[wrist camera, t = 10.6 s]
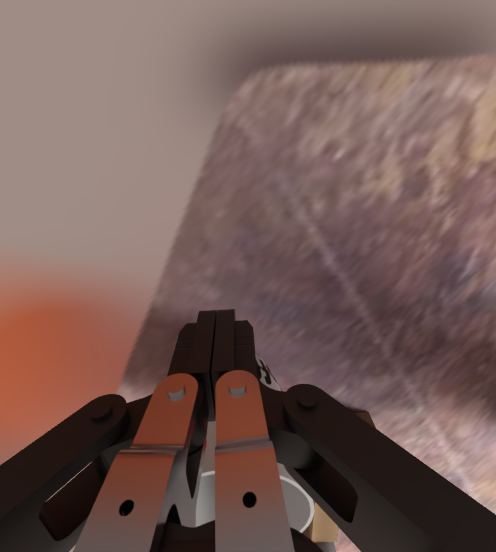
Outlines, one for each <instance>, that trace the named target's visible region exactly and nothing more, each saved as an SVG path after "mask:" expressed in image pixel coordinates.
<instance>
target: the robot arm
mask: <svg viewBox="0 0 496 552" xmlns="http://www.w3.org/2000/svg"><path fill="white" fill-rule="evenodd" d="M210 421H216V447H215V520H213V521H210V522H208V523H205V524H203V525H200V526H197V527H196V505H197V498H198V492H199V486H200V480H201V475H202V469H203V463H204V457H205V451H206V445H207V439H206V436H207V428H208V422H210ZM90 462H92V463H91V464H90V465H88V464H89V463H90ZM277 463H280V464H283V465H284V468H285V469H286V471H287V472H288V473H289V475H290V476H291V477H292V478H293V479H294V480H295V481H296V482H297V483H298V484H299V485H300V486H301V487H302V488H303V490H304V491H305V492H306V493H307V494H308V495H309V496H310V497H311V498H312V499H313V500H314V501H315V502H316V503H317V504H318V506H319V507H320V508H321V509H322V510H323V511H324V512H325V513H326V514H327V515H328V516H329V517H330V518H331V519H332V521H333V522H334V523H335V524H336V525H337V526H338V527H339V528H340V529H341V530H342V531H343V532H344V533H345V534H346V536H347V537H348V538H349V539H350V540H351V541H352V542H353V543H354V544H355V545H356V546H357V547H358V548H359V549H360V551H361V552H496V515H495V514H494V513H492V512H491V511H490V510H488V509H487V508H485V507H484V506H483V505H481V504H480V503H478V502H477V501H476V500H474V499H473V498H471V497H470V496H469V495H467V494H466V493H465V492H463V491H462V490H460V489H459V488H458V487H456V486H455V485H453V484H452V483H451V482H449V481H448V480H446V479H445V478H444V477H442V476H441V475H439V474H438V473H437V472H435V471H434V470H433V469H431V468H430V467H428V466H427V465H426V464H424V463H423V462H421V461H420V460H419V459H417V458H416V457H414V456H413V455H412V454H410V453H409V452H408V451H406V450H405V449H403V448H402V447H401V446H399V445H398V444H396V443H395V442H394V441H392V440H391V439H389V438H388V437H387V436H385V435H384V434H382V433H381V432H380V431H378V430H377V429H376V428H374V427H373V426H371V425H370V424H369V423H367V422H366V421H364V420H363V419H362V418H360V417H359V416H357V415H356V414H355V413H353V412H352V411H351V410H349V409H348V408H346V407H345V406H344V405H342V404H341V403H339V402H338V401H337V400H335V399H334V398H332V397H331V396H330V395H328V394H327V393H326V392H324V391H323V390H321V389H320V388H318V387H316V386H313V385H310V384H298V385H295V386H292V387H291V388H289V389H288V390H287V392H283V391H278V390H274V389H272V388H269V387H267V386H266V385H264V384H263V383H262V382H261V381H260V379H259V377H258V375H257V367H256V356H255V345H254V334H253V327H252V326H251V324H250V323H249V322H248V321H247V320H244V321H235V309H230V310H218V311H217V310H212V311H199V314H198V319H197V323H188V324H186V325H185V326H184V327H183V329H182V330H181V331H180V333H179V336H178V340H177V343H176V347H175V350H174V354H173V357H172V361H171V364H170V368H169V372H168V375H167V377H166V378H164V379H163V380H162V381H161V382H160V383H159V384H158V385H157V386H156V388H155V390H154V392H153V394H151V395H149V396H147V397H144V398H142V399H139V400H135V401H132V402H129V403H126V401H125V399H124V398H123V397H122V396H120V395H116V394H108V395H103V396H101V397H98V398H96V399H94V400H92V401H91V402H89V403H88V404H86V405H85V406H83V407H82V408H81V409H79V410H78V411H76V412H75V413H74V414H72V415H71V416H69V417H68V418H67V419H65V420H64V421H62V422H61V423H60V424H58V425H57V426H55V427H54V428H52V429H51V430H50V431H48V432H47V433H45V434H44V435H43V436H41V437H40V438H39V439H37V440H35V441H34V442H33V443H31V444H30V445H28V446H27V447H26V448H24V449H23V450H21V451H20V452H19V453H17V454H16V455H15V456H13V457H12V458H10V459H9V460H7V461H6V462H4V463H3V464H2V465H0V552H69V551H70V550H71V549H72V548H73V547H74V546H75V545H76V546H75V548H74V550H73V552H323V551H322V550H321V549H320V548H319V547H318V546H317V545H316V544H315V543H314V542H313V541H312V540H311V539H309V538H308V537H307V536H306V535H304V534H302V533H301V532H299V531H298V530H296V529H294V528H292V527H290V526H289V521H288V516H287V511H286V506H285V501H284V496H283V491H282V486H281V481H280V476H279V471H278V466H277ZM87 465H88V466H87ZM86 466H87V467H86ZM84 467H86V468H85V469H84V470H83V471H81V470H82V469H83V468H84ZM80 471H81V472H80ZM78 472H80V473H79V474H78V475H77V476H76V477H75V478H73V477H74V476H75V475H76V474H77V473H78ZM71 478H73V479H72V480H71V481H70V482H69V483H68V484H66V483H67V482H68V481H69V480H70V479H71ZM65 484H66V486H64V485H65ZM62 486H64V487H63V488H62V489H61V490H60V491H58V490H59V489H60V488H61V487H62ZM57 491H58V492H57ZM55 492H57V493H56V494H55V495H54V496H53V497H52V498H50V497H51V496H52V495H53V494H54V493H55ZM49 498H50V499H49ZM48 499H49V500H48ZM47 500H48V501H47Z"/></svg>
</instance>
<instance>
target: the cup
mask: <svg viewBox="0 0 496 552" xmlns="http://www.w3.org/2000/svg"><path fill="white" fill-rule="evenodd" d="M255 356H256V367H257V375H258V377H259V379H260V381H261V382H262V383H263V384H264V385H266V386H267V387H269V388H272V389H274V390H278V391H281V390H280V387H279V385H278V383H277V381H276V380H275V378H274V376H273V375H272V373H271V371H270V369H269V368H268V366H267V364H266V363H265V361H264V360H263V359H262V358H261V357H260V356H259V355H257V354H255ZM206 439H207V445H206V451H205V457H204V463H203V469H202V475H201V480H200V486H199V492H198V498H197V505H196V527H197V526H200V525H203V524H205V523H208V522H210V521H213V520H215V447H216V421H210V422H208V428H207V436H206ZM277 466H278V471H279V476H280V481H281V486H282V491H283V496H284V501H285V506H286V511H287V516H288V521H289V526H290V527H292V528H294V529H296V530H298V531H299V532H301V533H302V532H303V531H304V530H305V529H306V528H307V527H308V526H309V524H310V523H311V521H312V519H313V516H314V503H313V499H312V498H311V497H310V496H309V495H308V494H307V493H306V492H305V491H304V490H303V488H302V487H301V486H300V485H299V484H298V483H297V482H296V481H295V480H294V479H293V478H292V477H291V476H290V475H289V473H288V472H287V471H286V469H285V468H284V465H283V464H280V463H277Z"/></svg>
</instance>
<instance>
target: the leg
mask: <svg viewBox="0 0 496 552" xmlns="http://www.w3.org/2000/svg"><path fill="white" fill-rule="evenodd" d="M313 503H314V516H313V519H312V521H311V523H310V524H309V526H308V527H309V532H310V538H311V540H312V541H313V542H314V543H315V544H316V545H317V546H318V547H319V548H320V549H321V550H322V551H323V552H336V550H335V546H334V542H337V537H338V531H339V527H338V526H337V525H336V524H335V523H334V522H333V521H332V519H331V518H330V517H329V516H328V515H327V514H326V513H325V512H324V511H323V510H322V509H321V508H320V507H319V506H318V504H317V503H316V502H315V501H314V500H313Z"/></svg>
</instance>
